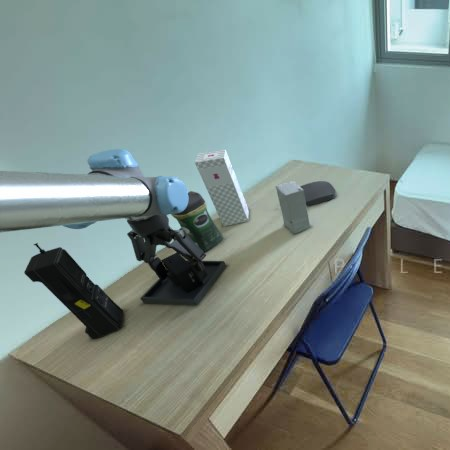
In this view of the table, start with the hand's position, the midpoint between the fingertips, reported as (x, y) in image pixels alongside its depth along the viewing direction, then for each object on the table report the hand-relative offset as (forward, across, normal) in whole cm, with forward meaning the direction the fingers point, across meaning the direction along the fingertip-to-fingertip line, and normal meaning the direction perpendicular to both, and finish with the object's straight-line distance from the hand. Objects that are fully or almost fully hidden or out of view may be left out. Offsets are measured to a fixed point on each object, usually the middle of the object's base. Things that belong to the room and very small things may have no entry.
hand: (184, 277), depth 88 cm
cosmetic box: (+3, -23, -29) cm, 37 cm away
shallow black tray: (+2, 0, 0) cm, 2 cm away
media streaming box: (+2, -23, -51) cm, 56 cm away
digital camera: (+2, 0, 0) cm, 2 cm away
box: (+2, +3, -34) cm, 34 cm away
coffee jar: (+3, +5, -18) cm, 19 cm away
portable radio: (+2, +11, +15) cm, 19 cm away
